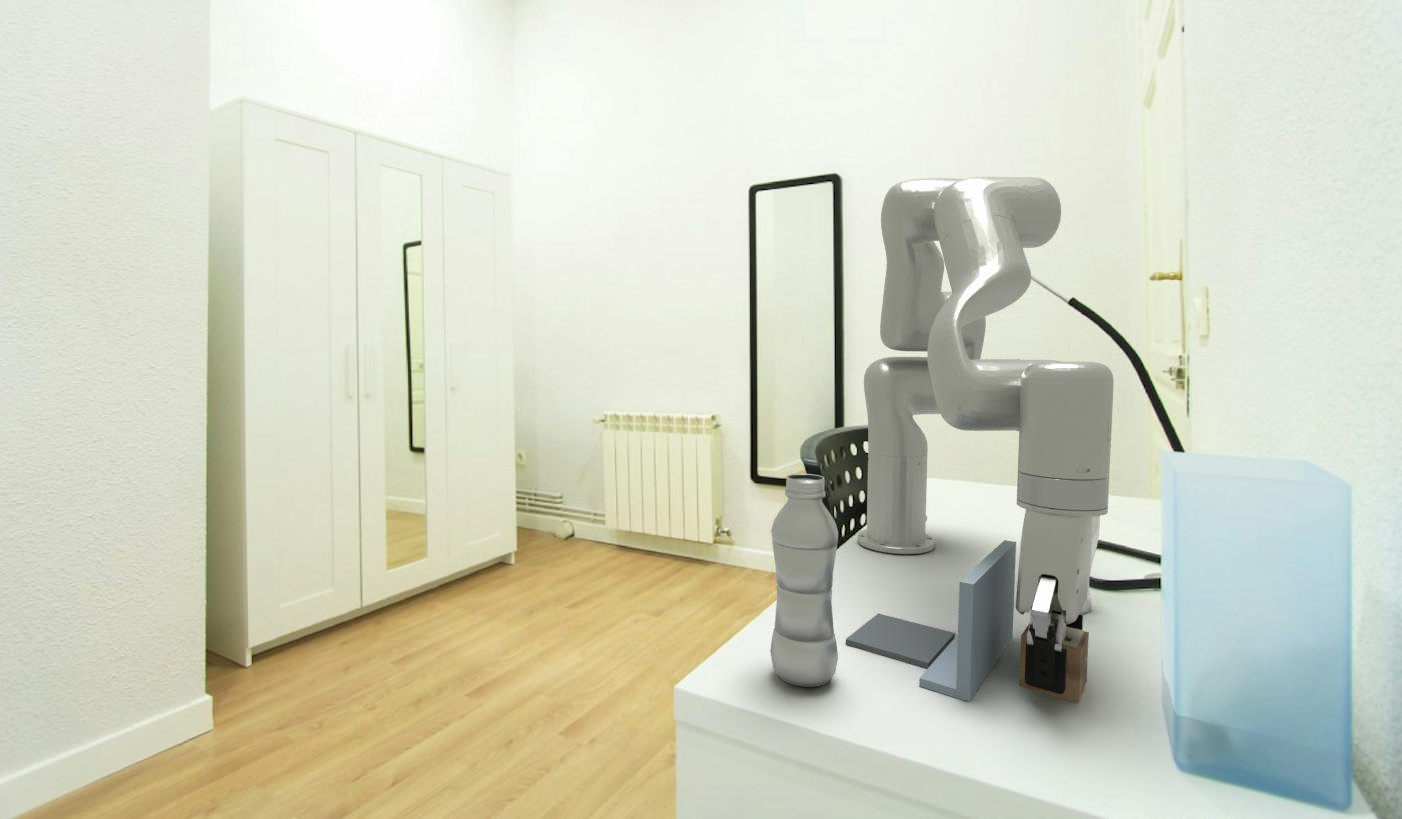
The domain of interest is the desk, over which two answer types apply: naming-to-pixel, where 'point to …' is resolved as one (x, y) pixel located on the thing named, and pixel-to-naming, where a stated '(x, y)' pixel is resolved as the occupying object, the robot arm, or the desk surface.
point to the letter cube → (1074, 666)
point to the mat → (901, 640)
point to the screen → (978, 626)
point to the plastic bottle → (804, 585)
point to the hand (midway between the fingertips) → (1054, 667)
